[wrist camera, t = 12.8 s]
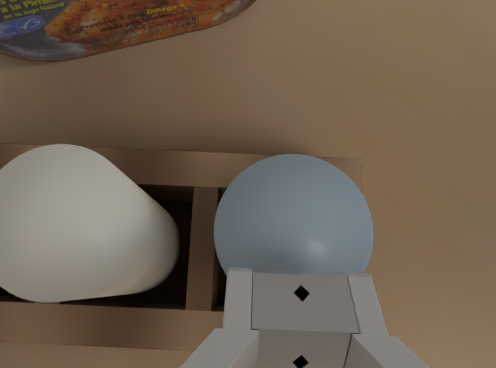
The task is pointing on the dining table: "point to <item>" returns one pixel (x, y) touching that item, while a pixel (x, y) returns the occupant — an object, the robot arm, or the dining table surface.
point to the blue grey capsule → (294, 218)
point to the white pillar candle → (79, 228)
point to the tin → (101, 24)
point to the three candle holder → (199, 270)
